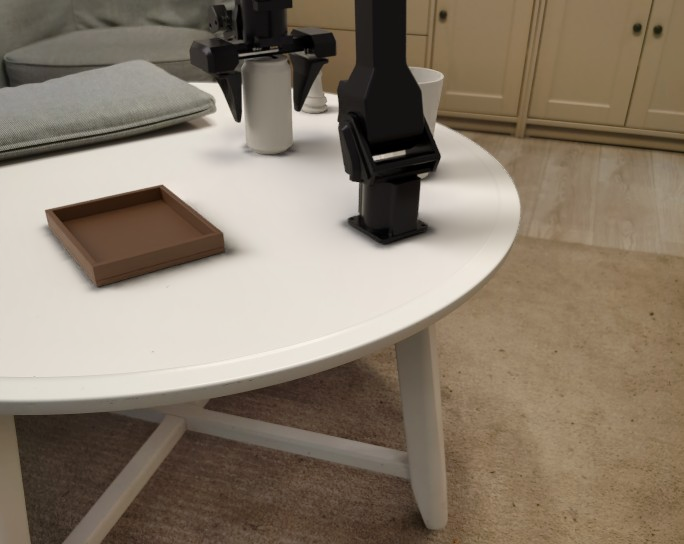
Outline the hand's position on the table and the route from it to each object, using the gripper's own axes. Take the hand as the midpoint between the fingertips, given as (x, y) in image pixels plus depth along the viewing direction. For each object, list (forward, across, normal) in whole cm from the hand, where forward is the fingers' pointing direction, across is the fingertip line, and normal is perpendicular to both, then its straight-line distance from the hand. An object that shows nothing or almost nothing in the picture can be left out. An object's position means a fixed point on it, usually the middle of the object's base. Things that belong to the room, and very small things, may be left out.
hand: (268, 116), depth 95 cm
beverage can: (+5, 0, 0) cm, 5 cm away
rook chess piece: (+5, -15, -12) cm, 20 cm away
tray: (+4, +26, +17) cm, 31 cm away
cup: (+4, -10, +17) cm, 20 cm away
